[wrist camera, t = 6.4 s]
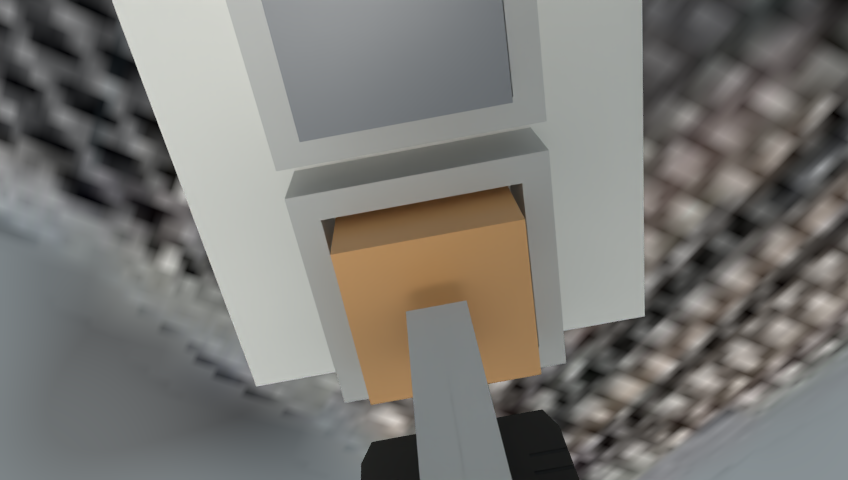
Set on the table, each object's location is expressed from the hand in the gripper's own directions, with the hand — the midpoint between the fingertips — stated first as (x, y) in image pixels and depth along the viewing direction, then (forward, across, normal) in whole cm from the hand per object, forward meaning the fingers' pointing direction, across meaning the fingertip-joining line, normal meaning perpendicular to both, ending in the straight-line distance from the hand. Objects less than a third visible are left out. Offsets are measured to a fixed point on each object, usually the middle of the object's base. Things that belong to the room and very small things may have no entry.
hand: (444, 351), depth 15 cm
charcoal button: (+4, 0, -8) cm, 9 cm away
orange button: (+4, 0, 0) cm, 4 cm away
